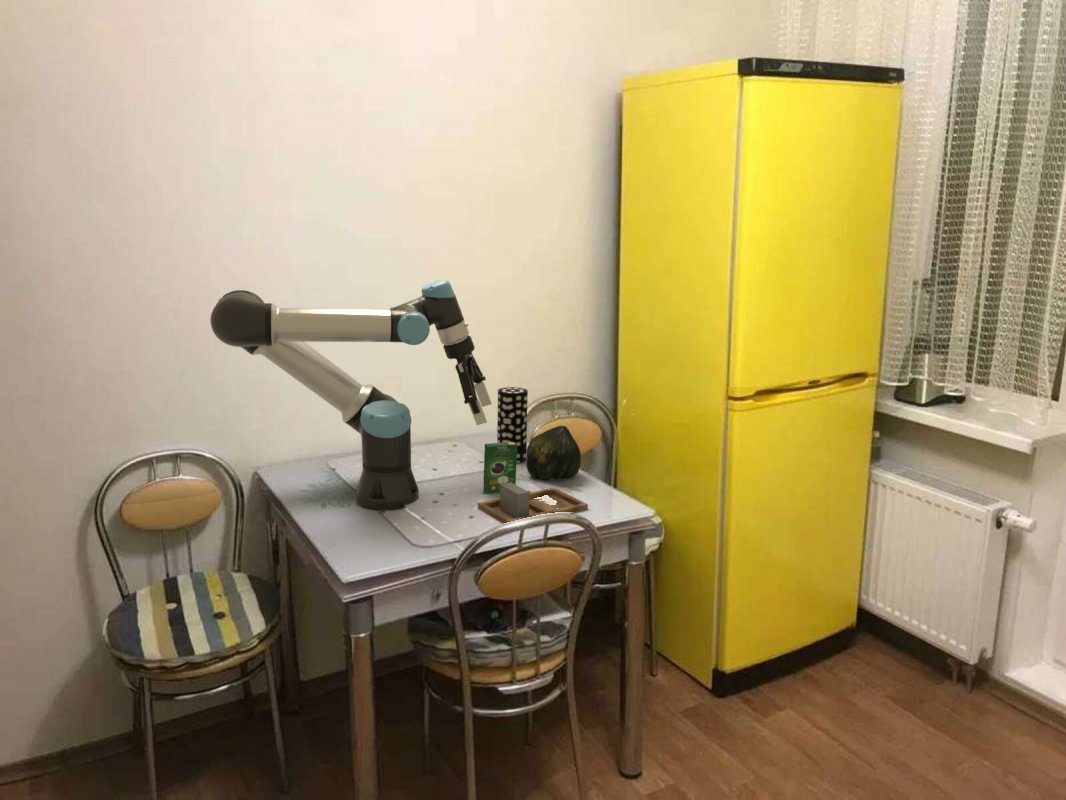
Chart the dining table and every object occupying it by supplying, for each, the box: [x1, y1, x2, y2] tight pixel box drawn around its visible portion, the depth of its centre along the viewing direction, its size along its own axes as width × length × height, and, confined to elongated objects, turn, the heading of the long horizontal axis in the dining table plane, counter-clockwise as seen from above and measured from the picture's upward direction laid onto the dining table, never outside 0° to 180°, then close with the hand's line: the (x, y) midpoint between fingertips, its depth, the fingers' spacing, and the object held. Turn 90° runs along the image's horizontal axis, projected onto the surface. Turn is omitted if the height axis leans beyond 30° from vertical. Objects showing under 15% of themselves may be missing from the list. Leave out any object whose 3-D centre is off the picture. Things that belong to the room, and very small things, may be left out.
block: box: [499, 482, 530, 518], centre depth 200 cm, size 3×8×6 cm, turn 34°
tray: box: [477, 487, 589, 524], centre depth 203 cm, size 22×14×2 cm, turn 124°
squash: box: [526, 425, 582, 481], centre depth 228 cm, size 14×15×15 cm
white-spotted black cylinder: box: [496, 386, 529, 464], centre depth 242 cm, size 8×8×20 cm
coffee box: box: [482, 442, 518, 495], centre depth 214 cm, size 8×3×13 cm, turn 114°
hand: (484, 414), depth 225 cm, fingers open, 13 cm apart
